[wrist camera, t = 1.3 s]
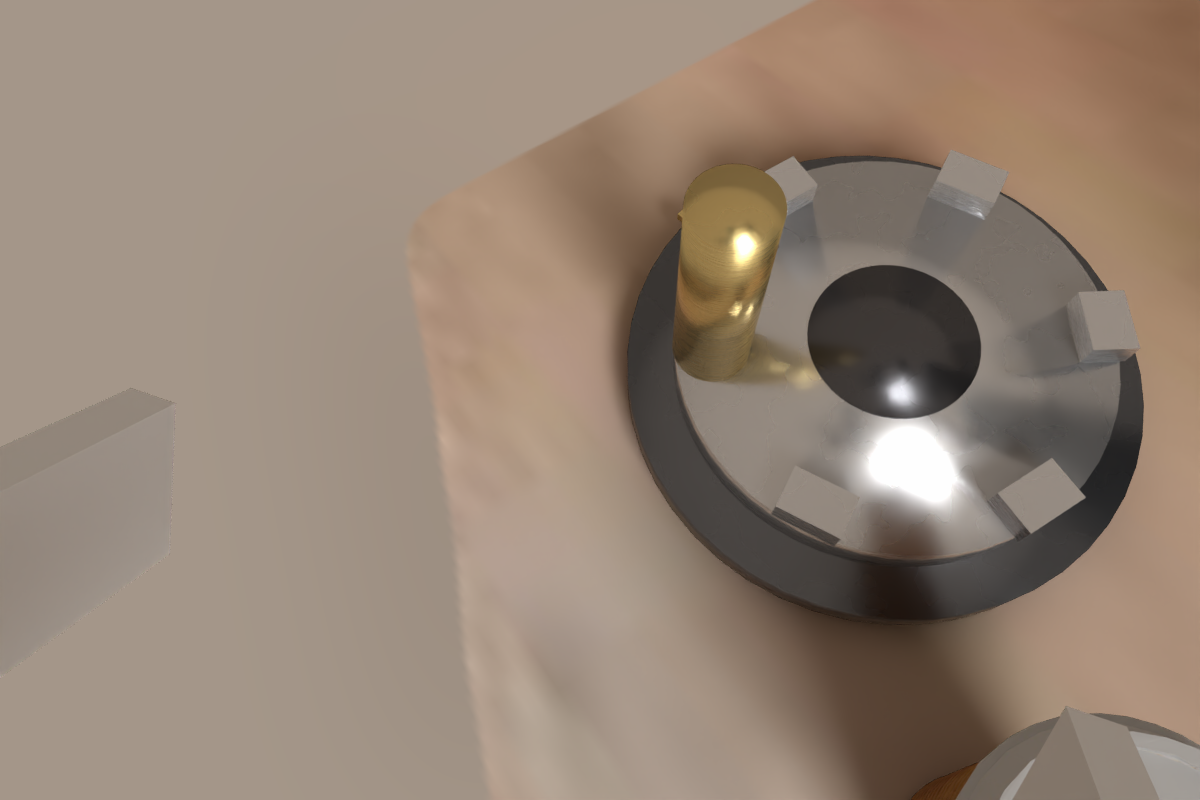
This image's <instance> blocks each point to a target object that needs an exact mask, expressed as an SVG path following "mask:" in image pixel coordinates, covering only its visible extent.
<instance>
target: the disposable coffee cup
mask: <svg viewBox="0 0 1200 800" xmlns="http://www.w3.org/2000/svg"><path fill="white" fill-rule="evenodd" d="M1088 714H1091V715H1094V716H1097V717H1100V718H1103V719H1106V720H1109V721H1112V722H1115V723H1118V724H1121V725H1124V726H1127V728H1128V730H1129V732H1130V735H1131V737H1132V739H1133V741H1134V743H1135V746H1136V748H1137V750H1138V752H1139V755H1140V757H1141V759H1142V761H1143V763H1144V766H1145V768H1146V770H1147V772H1148V774H1149V777H1150V779H1151V781H1152V783H1153V786H1154V788H1155V790H1156V792H1157V794H1158V797H1159V799H1160V800H1200V745H1198V744H1196V743H1194V742H1193V741H1191V740H1189V739H1188V738H1186V737H1184V736H1183V735H1180V734H1178V733H1176V732H1173V731H1171V730H1168V729H1166V728H1164V727H1161V726H1159V725H1156V724H1153V723H1149V722H1146V721H1142V720H1139V719H1135V718H1131V717H1128V716H1119V715H1110V714H1102V713H1088ZM1059 718H1060V717H1056V718H1053V719H1049V720H1046V721H1043V722H1040V723H1036V724H1034V725H1032V726H1030V727H1028V728H1026V729H1024V730H1022V731H1020V732H1018V733H1016V734H1014V735H1012V736H1010V737H1009V738H1007V739H1006V740H1005V741H1004V742H1002V743H1001V744H1000V745H999V746H998V747H997V748H995V749H994V750H993V751H992V752H991V753H989V754H988V755H987V756H986V757H985V758H983V759H982V760H981V761H980V762H978V763H975V764H973V765H971V766H967V767H965V768H963V769H961V770H958V771H956V772H953V773H951V774H948V775H946V776H943V777H940V778H937V779H935V780H934V781H932V782H930V783H928V784H927V785H925V786H924V787H923V788H922V789H921V790H920V791H918V792H917V793H916V794H915V795H914V796H913V797H912V799H911V800H1013V798H1014V796H1015V794H1016V793H1017V791H1018V789H1019V787H1020V786H1021V784H1022V782H1023V780H1024V779H1025V777H1026V775H1027V773H1028V772H1029V770H1030V768H1031V766H1032V765H1033V763H1034V761H1035V759H1036V758H1037V756H1038V754H1039V752H1040V751H1041V749H1042V747H1043V745H1044V744H1045V742H1046V740H1047V738H1048V737H1049V735H1050V733H1051V731H1052V730H1053V728H1054V726H1055V725H1056V723H1057V721H1058V719H1059Z"/></svg>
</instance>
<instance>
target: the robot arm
mask: <svg viewBox="0 0 1200 800" xmlns="http://www.w3.org/2000/svg"><path fill="white" fill-rule="evenodd" d="M175 406H176V404H175V403H174V402H171V401H168V400H165V399H162V398H159V397H156V396H153V395H150V394H147V393H144V392H141V391H138V390H136V389H133V388H130V389H128V390H126V391H123V392H121V393H119V394H117V395H115V396H112V397H110V398H108V399H106V400H104V401H101V402H99V403H97V404H95V405H92V406H90V407H88V408H86V409H84V410H81V411H79V412H77V413H75V414H73V415H70V416H68V417H66V418H64V419H62V420H59V421H57V422H55V423H53V424H51V425H48V426H46V427H44V428H42V429H39V430H37V431H35V432H33V433H30V434H28V435H26V436H24V437H22V438H19V439H18V440H15V441H13V442H11V443H9V444H6V445H4V446H2V447H0V678H1V677H2V676H4V675H5V674H6V673H8V672H9V671H11V670H12V669H13V668H14V667H16V666H17V665H19V664H20V663H21V662H23V661H24V660H26V659H27V658H28V657H30V656H31V655H33V654H34V653H35V652H37V651H38V650H39V649H41V648H42V647H43V646H45V645H46V644H48V643H49V642H50V641H52V640H53V639H54V638H56V637H57V636H59V635H60V634H61V633H63V632H64V631H65V630H67V629H68V628H69V627H71V626H72V625H74V624H75V623H76V622H77V621H79V620H81V619H82V618H83V617H85V616H86V615H87V614H89V613H90V612H91V611H93V610H94V609H96V608H97V607H98V606H100V605H101V604H102V603H104V602H105V601H107V600H108V599H109V598H111V597H112V596H113V595H115V594H116V593H118V592H119V591H120V590H122V589H123V588H124V587H126V586H127V585H128V584H130V583H131V582H132V581H134V580H135V579H137V578H138V577H139V576H141V575H142V574H144V573H145V572H146V571H147V570H149V569H150V568H152V567H153V566H154V565H156V564H157V563H159V562H160V561H161V560H163V559H164V558H166V557H167V556H168V555H169V554H170V534H171V509H172V482H173V457H174V431H175ZM1013 800H1160V799H1159V797H1158V794H1157V792H1156V790H1155V788H1154V786H1153V783H1152V781H1151V779H1150V777H1149V774H1148V772H1147V770H1146V768H1145V766H1144V763H1143V761H1142V759H1141V757H1140V755H1139V752H1138V750H1137V748H1136V746H1135V743H1134V741H1133V739H1132V737H1131V735H1130V732H1129V730H1128V728H1127V726H1124V725H1121V724H1118V723H1115V722H1112V721H1109V720H1106V719H1103V718H1100V717H1097V716H1094V715H1091V714H1088V713H1085V712H1082V711H1079V710H1077V709H1074V708H1071V707H1068V706H1066V707H1065V709H1064V711H1063V712H1062V714H1061V716H1060V718H1059V719H1058V721H1057V723H1056V725H1055V726H1054V728H1053V730H1052V731H1051V733H1050V735H1049V737H1048V738H1047V740H1046V742H1045V744H1044V745H1043V747H1042V749H1041V751H1040V752H1039V754H1038V756H1037V758H1036V759H1035V761H1034V763H1033V765H1032V766H1031V768H1030V770H1029V772H1028V773H1027V775H1026V777H1025V779H1024V780H1023V782H1022V784H1021V786H1020V787H1019V789H1018V791H1017V793H1016V794H1015V796H1014V798H1013Z"/></svg>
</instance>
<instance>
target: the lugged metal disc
mask: <svg viewBox="0 0 1200 800" xmlns="http://www.w3.org/2000/svg"><path fill="white" fill-rule="evenodd" d="M1008 174H1009V172H1008V171H1005V170H1002V169H1000V168H997V167H995V166H992V165H989V164H987V163H984V162H982V161H979V160H977V159H974V158H971V157H969V156H966V155H964V154H961V153H959V152H956V151H953V150H951V151H950V153H949V155H948V157H947V159H946V161H945V163H944V165H943V167H942V169H941V170H938V169H934V168H929V167H925V166H920V165H915V164H906V163H898V162H880V161H862V162H851V163H841V164H834V165H830V166H825V167H820V168H815V169H811V170H808V171H806V170H805V169H804V168H803V167H802V166H801V164H800V163H799V162H798V161H797V160H796V159H795V157H794V156H792V157H791V158H789V159H787V160H785V161H783V162H781V163H780V164H778V165H776V166H774V167H772V168H770V169H768V170H767V171H765V172H764V171H762V170H760V169H757V168H755V167H752V166H748V165H743V164H725V165H720V166H716V167H713V168H711V169H709V170H706V171H705V172H703V173H702V174H700V175H699V176H698V177H697V178H696V179H695V180H694V181H693V182H692V183H691V185H690V186H689V188H688V190H687V192H686V194H685V198H684V205H683V217H682V230H681V242H680V255H679V267H678V280H677V292H676V304H675V317H674V329H673V342H672V349H673V372H674V379H675V387H676V394H677V397H678V401H679V405H680V408H681V412H682V416H683V418H684V421H685V423H686V425H687V428H688V430H689V432H690V435H691V437H692V439H693V442H694V443H695V445H696V447H697V448H698V450H699V452H700V453H701V455H702V457H703V458H704V460H705V462H706V463H707V465H708V466H709V468H710V469H711V470H712V471H713V473H714V474H715V475H716V476H717V478H718V479H719V480H720V481H721V483H722V484H723V485H724V487H725V488H726V489H727V490H728V491H729V492H730V493H731V494H733V495H734V496H735V497H736V498H737V499H738V500H739V501H740V502H741V503H742V504H743V505H744V506H745V507H746V508H747V509H748V510H750V511H751V512H752V513H754V514H755V515H756V516H758V517H759V518H760V519H762V520H763V521H764V522H765V523H767V524H768V525H770V526H771V527H773V528H775V529H776V530H778V531H780V532H781V533H783V534H785V535H787V536H788V537H790V538H792V539H793V540H795V541H798V542H800V543H802V544H804V545H807V546H809V547H811V548H814V549H816V550H818V551H821V552H823V553H826V554H830V555H833V556H836V557H840V558H843V559H847V560H850V561H855V562H861V563H867V564H873V565H879V566H894V567H920V566H931V565H942V564H946V563H951V562H955V561H959V560H964V559H968V558H972V557H974V556H977V555H980V554H982V553H985V552H987V551H990V550H993V549H995V548H998V547H999V546H1001V545H1003V544H1005V543H1007V542H1008V541H1010V540H1012V539H1014V538H1015V539H1016V540H1017V541H1020V540H1021V539H1023V538H1025V537H1027V536H1028V535H1030V534H1032V533H1033V532H1035V531H1036V530H1038V529H1039V528H1041V527H1042V526H1044V525H1045V524H1047V523H1048V522H1050V521H1051V520H1053V519H1054V518H1056V517H1057V516H1059V515H1060V514H1062V513H1063V512H1065V511H1066V510H1068V509H1069V508H1071V507H1072V506H1074V505H1075V504H1077V503H1078V502H1080V501H1081V500H1083V499H1084V498H1086V497H1085V496H1084V494H1083V493H1082V492H1081V491H1080V490H1079V489H1080V488H1081V487H1082V486H1083V485H1084V484H1085V482H1086V481H1087V479H1088V478H1089V476H1090V475H1091V473H1092V472H1093V470H1094V469H1095V467H1096V466H1097V464H1098V463H1099V461H1100V459H1101V457H1102V455H1103V453H1104V450H1105V448H1106V446H1107V444H1108V442H1109V439H1110V437H1111V434H1112V430H1113V427H1114V423H1115V419H1116V416H1117V412H1118V404H1119V395H1120V386H1121V383H1120V362H1122V361H1126V360H1127V359H1128V358H1129V357H1131V356H1132V355H1133V354H1134V353H1135V352H1137V351H1138V350H1139V349H1140V346H1139V342H1138V339H1137V335H1136V331H1135V328H1134V324H1133V321H1132V317H1131V313H1130V310H1129V306H1128V303H1127V299H1126V296H1125V292H1124V290H1119V291H1097V289H1096V287H1095V285H1094V283H1093V282H1092V280H1091V279H1090V277H1089V276H1088V274H1087V273H1086V271H1085V270H1084V268H1083V267H1082V265H1081V264H1080V262H1079V261H1078V260H1077V258H1076V257H1075V256H1074V255H1073V254H1072V253H1071V251H1070V250H1069V249H1068V248H1067V247H1066V246H1065V244H1064V243H1063V242H1062V241H1061V240H1060V239H1059V238H1058V237H1057V236H1056V235H1055V234H1054V233H1053V232H1052V231H1051V230H1049V229H1048V228H1047V227H1046V226H1045V225H1044V224H1043V223H1042V222H1041V221H1040V220H1038V219H1037V218H1035V217H1034V216H1033V215H1031V214H1030V213H1029V212H1027V211H1026V210H1025V209H1023V208H1022V207H1021V206H1019V205H1018V204H1016V203H1014V202H1013V201H1011V200H1009V199H1008V198H1006V197H1004V196H1003V195H1001V194H999V193H1000V191H1001V189H1002V187H1003V185H1004V183H1005V180H1006V178H1007V176H1008Z"/></svg>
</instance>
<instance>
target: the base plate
mask: <svg viewBox="0 0 1200 800" xmlns="http://www.w3.org/2000/svg"><path fill="white" fill-rule="evenodd" d="M862 161H880V162H898V163H906V164H915V165H920V166H925V167H929V168H934V169H938V170H941V169H942V168H940V167H937V166H933V165H930V164H925V163H920V162H915V161H909V160H904V159H899V158H887V157H875V156H841V157H831V158H823V159H816V160H808V161H804V162H800V164H801V166H802V167H803V168H804V169H805V170H806V171H808V170H811V169H815V168H820V167H825V166H830V165H834V164H841V163H851V162H862ZM999 194H1001V195H1003V196H1004V197H1006V198H1008V199H1009V200H1011V201H1013V202H1014V203H1016V204H1018V205H1019V206H1021V207H1022V208H1023V209H1025V210H1026V211H1027V212H1029V213H1030V214H1031V215H1033V216H1034V217H1035V218H1037V219H1038V220H1040V221H1041V222H1042V223H1043V224H1044V225H1045V226H1046V227H1047V228H1048V229H1049V230H1051V231H1052V232H1053V233H1054V234H1055V235H1056V236H1057V237H1058V238H1059V239H1060V240H1061V241H1062V242H1063V243H1064V244H1065V246H1066V247H1067V248H1068V249H1069V250H1070V251H1071V253H1072V254H1073V255H1074V256H1075V257H1076V258H1077V260H1078V261H1079V262H1080V264H1081V265H1082V267H1083V268H1084V270H1085V271H1086V273H1087V274H1088V276H1089V277H1090V279H1091V280H1092V282H1093V283H1094V285H1095V287H1096V289H1097V291H1108V290H1107V289H1106V287H1105V286H1104V284H1103V283H1102V281H1101V280H1100V279H1099V277H1098V276H1097V275H1096V273H1095V272H1094V271H1093V269H1092V268H1091V266H1090V265H1089V264H1088V262H1087V261H1086V260H1085V259H1084V258H1083V257H1082V256H1081V255H1080V254H1079V253H1078V252H1077V250H1076V249H1075V248H1074V247H1073V246H1072V245H1071V244H1070V243H1069V242H1068V241H1067V240H1066V239H1065V238H1064V237H1063V236H1062V235H1061V234H1060V233H1058V232H1057V231H1056V230H1055V229H1054V228H1053V227H1051V226H1050V225H1049V224H1048V223H1047V222H1046V221H1044V220H1043V219H1042V218H1041V217H1039V216H1038V215H1036V214H1035V213H1033V212H1032V211H1031V210H1029V209H1028V208H1026V207H1025V206H1023V205H1022V204H1020V203H1019V202H1017V201H1016V200H1014V199H1012V198H1011V197H1009V196H1007V195H1005V194H1003V193H1001V192H1000V193H999ZM682 217H683V210H682V211H680V212H679V213H678V217H677V219H678V220H680V221H681V222H682ZM681 230H682V228H681V229H680V230H679V231H678V233H677V234H676V235H675V236H674V237H673V238H672V240H671V241H670V242H669V243H668V244H667V245H666V247H665V248H664V250H663V252H662V253H661V255H660V256H659V258H658V259H657V261H656V263H655V264H654V266H653V267H652V269H651V271H650V273H649V275H648V277H647V280H646V282H645V284H644V286H643V288H642V291H641V293H640V295H639V298H638V302H637V305H636V309H635V312H634V316H633V319H632V323H631V330H630V337H629V345H628V395H629V402H630V409H631V415H632V422H633V426H634V429H635V433H636V436H637V439H638V443H639V446H640V449H641V453H642V455H643V457H644V459H645V462H646V464H647V466H648V468H649V470H650V473H651V475H652V477H653V479H654V481H655V483H656V485H657V486H658V488H659V489H660V491H661V493H662V494H663V496H664V497H665V499H666V501H667V502H668V504H669V505H670V507H671V509H672V510H673V511H674V512H675V514H676V515H677V516H678V517H679V518H680V520H681V521H682V522H683V523H684V525H685V526H686V527H687V528H688V529H689V531H690V532H691V533H692V534H693V535H694V536H695V537H696V538H697V539H698V540H699V541H700V542H701V543H702V544H703V545H704V546H705V547H706V548H707V549H708V550H710V551H711V552H712V553H713V554H714V555H715V556H716V557H717V558H718V559H719V560H721V561H722V562H723V563H725V564H726V565H728V566H729V567H730V568H732V569H733V570H734V571H736V572H737V573H739V574H740V575H741V576H743V577H744V578H745V579H747V580H748V581H750V582H752V583H754V584H756V585H758V586H759V587H761V588H763V589H765V590H767V591H768V592H770V593H772V594H774V595H776V596H777V597H779V598H782V599H784V600H787V601H789V602H792V603H794V604H797V605H799V606H802V607H804V608H807V609H809V610H812V611H816V612H819V613H823V614H827V615H831V616H835V617H838V618H842V619H846V620H852V621H860V622H868V623H876V624H883V625H907V624H927V623H934V622H941V621H949V620H955V619H959V618H962V617H966V616H969V615H973V614H977V613H980V612H984V611H987V610H990V609H992V608H995V607H997V606H999V605H1002V604H1004V603H1006V602H1008V601H1011V600H1013V599H1015V598H1017V597H1019V596H1022V595H1024V594H1026V593H1028V592H1031V591H1033V590H1035V589H1037V588H1038V587H1040V586H1041V585H1043V584H1044V583H1046V582H1047V581H1049V580H1051V579H1052V578H1054V577H1055V576H1057V575H1058V574H1060V573H1061V572H1063V571H1064V570H1065V569H1066V568H1068V567H1069V566H1070V565H1071V564H1072V563H1073V562H1074V561H1076V560H1077V559H1078V558H1079V557H1080V556H1081V555H1082V554H1083V553H1085V552H1086V551H1087V550H1088V549H1089V548H1090V546H1091V545H1092V544H1093V543H1094V542H1095V540H1096V539H1097V538H1098V537H1099V535H1100V534H1101V533H1102V532H1103V531H1104V529H1105V528H1106V527H1107V526H1108V524H1109V523H1110V521H1111V519H1112V518H1113V516H1114V514H1115V513H1116V511H1117V509H1118V507H1119V506H1120V504H1121V502H1122V500H1123V499H1124V497H1125V495H1126V492H1127V489H1128V487H1129V484H1130V481H1131V479H1132V476H1133V474H1134V471H1135V468H1136V465H1137V460H1138V455H1139V450H1140V445H1141V440H1142V432H1143V410H1144V403H1143V393H1142V384H1141V374H1140V370H1139V366H1138V362H1137V358H1136V354H1135V353H1134V354H1133V355H1132V356H1131V357H1129V358H1128V359H1127V360H1126V361H1122V362H1120V383H1121V386H1120V395H1119V404H1118V412H1117V416H1116V419H1115V423H1114V427H1113V430H1112V434H1111V437H1110V439H1109V442H1108V444H1107V446H1106V448H1105V450H1104V453H1103V455H1102V457H1101V459H1100V461H1099V463H1098V464H1097V466H1096V467H1095V469H1094V470H1093V472H1092V473H1091V475H1090V476H1089V478H1088V479H1087V481H1086V482H1085V484H1084V485H1083V486H1082V487H1081V488H1080V489H1079V490H1080V491H1081V492H1082V493H1083V494H1084V496H1085V497H1086V498H1084V499H1083V500H1081V501H1080V502H1078V503H1077V504H1075V505H1074V506H1072V507H1071V508H1069V509H1068V510H1066V511H1065V512H1063V513H1062V514H1060V515H1059V516H1057V517H1056V518H1054V519H1053V520H1051V521H1050V522H1048V523H1047V524H1045V525H1044V526H1042V527H1041V528H1039V529H1038V530H1036V531H1035V532H1033V533H1032V534H1030V535H1028V536H1027V537H1025V538H1023V539H1021V540H1020V541H1017V540H1016V539H1015V538H1014V539H1012V540H1010V541H1008V542H1007V543H1005V544H1003V545H1001V546H999V547H998V548H995V549H993V550H990V551H987V552H985V553H982V554H980V555H977V556H974V557H972V558H968V559H964V560H959V561H955V562H951V563H946V564H942V565H931V566H920V567H894V566H879V565H873V564H867V563H861V562H855V561H850V560H847V559H843V558H840V557H836V556H833V555H830V554H826V553H823V552H821V551H818V550H816V549H814V548H811V547H809V546H807V545H804V544H802V543H800V542H798V541H795V540H793V539H792V538H790V537H788V536H787V535H785V534H783V533H781V532H780V531H778V530H776V529H775V528H773V527H771V526H770V525H768V524H767V523H765V522H764V521H763V520H762V519H760V518H759V517H758V516H756V515H755V514H754V513H752V512H751V511H750V510H748V509H747V508H746V507H745V506H744V505H743V504H742V503H741V502H740V501H739V500H738V499H737V498H736V497H735V496H734V495H733V494H731V493H730V492H729V491H728V490H727V489H726V488H725V487H724V485H723V484H722V483H721V481H720V480H719V479H718V478H717V476H716V475H715V474H714V473H713V471H712V470H711V469H710V468H709V466H708V465H707V463H706V462H705V460H704V458H703V457H702V455H701V453H700V452H699V450H698V448H697V447H696V445H695V443H694V442H693V439H692V437H691V435H690V432H689V430H688V428H687V425H686V423H685V421H684V418H683V416H682V412H681V408H680V405H679V401H678V397H677V394H676V387H675V379H674V372H673V349H672V342H673V329H674V317H675V304H676V292H677V280H678V267H679V255H680V242H681Z"/></svg>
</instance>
